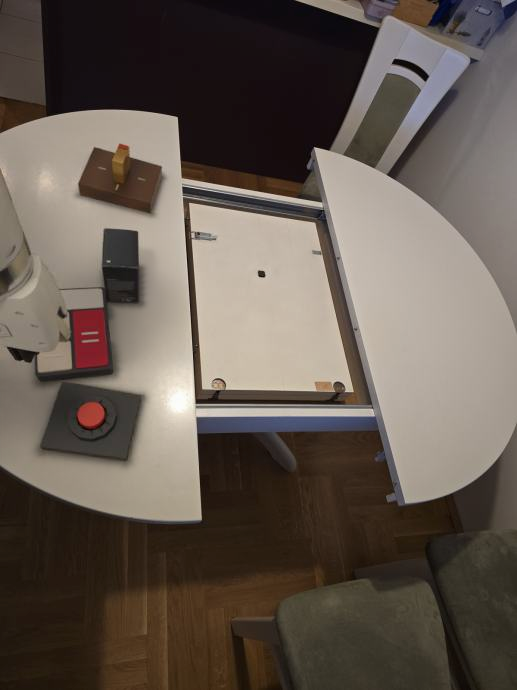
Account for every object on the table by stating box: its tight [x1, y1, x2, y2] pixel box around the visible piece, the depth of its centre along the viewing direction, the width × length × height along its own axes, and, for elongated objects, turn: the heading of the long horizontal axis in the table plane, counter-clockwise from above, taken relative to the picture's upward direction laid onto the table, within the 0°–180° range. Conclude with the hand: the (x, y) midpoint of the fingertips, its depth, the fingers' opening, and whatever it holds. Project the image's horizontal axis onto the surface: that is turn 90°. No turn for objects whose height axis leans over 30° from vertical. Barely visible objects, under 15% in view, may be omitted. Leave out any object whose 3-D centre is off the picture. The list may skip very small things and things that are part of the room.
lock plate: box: [77, 146, 163, 214], centre depth 81 cm, size 14×11×3 cm
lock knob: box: [112, 143, 131, 184], centre depth 77 cm, size 5×2×5 cm, turn 174°
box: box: [101, 227, 140, 304], centre depth 67 cm, size 8×6×11 cm
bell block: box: [39, 381, 142, 462], centre depth 59 cm, size 12×10×4 cm
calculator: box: [34, 286, 114, 383], centre depth 64 cm, size 11×4×15 cm
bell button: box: [77, 402, 105, 429], centre depth 57 cm, size 4×4×2 cm
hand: (28, 350), depth 45 cm, fingers closed
